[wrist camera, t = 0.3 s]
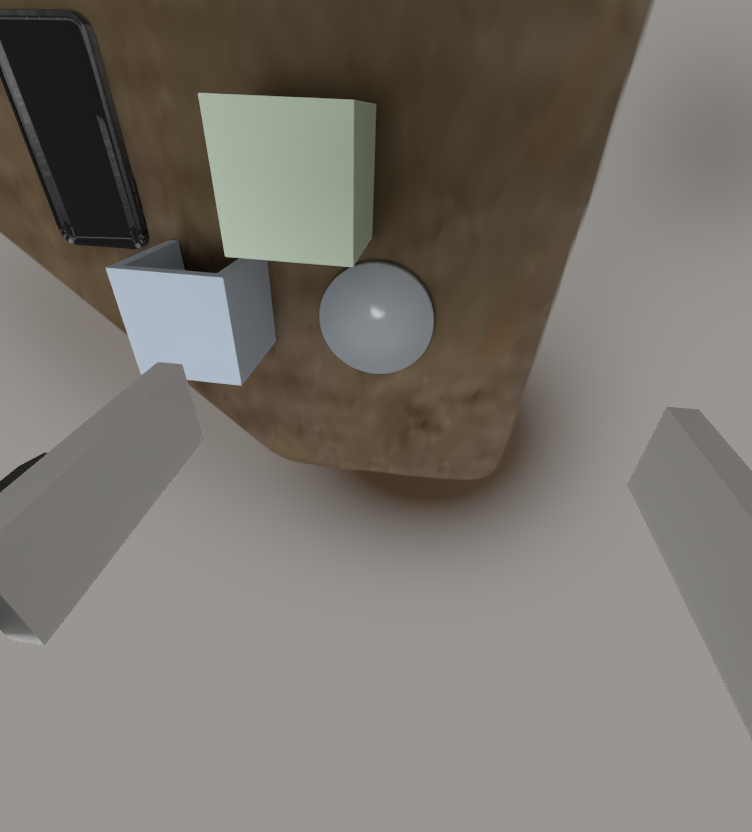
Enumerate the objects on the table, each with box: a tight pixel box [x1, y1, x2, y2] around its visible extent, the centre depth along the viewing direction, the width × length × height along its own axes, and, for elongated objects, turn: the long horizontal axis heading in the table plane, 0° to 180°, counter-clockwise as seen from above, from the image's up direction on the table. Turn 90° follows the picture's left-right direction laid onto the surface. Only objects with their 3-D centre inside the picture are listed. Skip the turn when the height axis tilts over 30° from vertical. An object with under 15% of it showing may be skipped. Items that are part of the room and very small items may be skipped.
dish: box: [319, 260, 434, 374], centre depth 37 cm, size 10×10×1 cm
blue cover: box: [106, 240, 276, 386], centre depth 35 cm, size 9×9×8 cm
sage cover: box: [198, 93, 376, 267], centre depth 28 cm, size 9×9×8 cm
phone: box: [0, 9, 149, 249], centre depth 33 cm, size 8×1×15 cm
